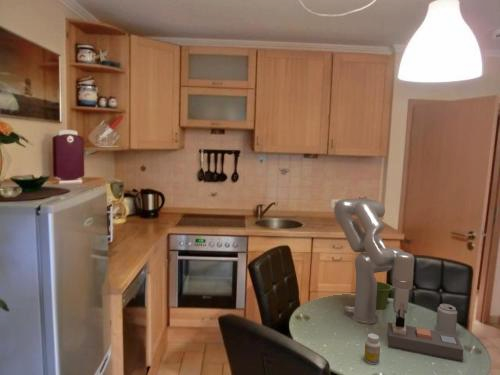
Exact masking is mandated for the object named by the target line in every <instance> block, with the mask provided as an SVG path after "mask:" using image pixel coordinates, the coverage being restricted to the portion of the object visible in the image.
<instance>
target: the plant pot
mask: <svg viewBox="0 0 500 375" xmlns="http://www.w3.org/2000/svg"><path fill="white" fill-rule="evenodd" d="M392 289H393V286H391V285H390V284H388V283H387V282H383V281H377V298H376V310H379V309H380V310H385V309H386V307H387V303H388V299H389V294H390V293H391V290H392Z"/></svg>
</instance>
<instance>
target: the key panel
mask: <svg viewBox="0 0 500 375" xmlns="http://www.w3.org/2000/svg"><path fill="white" fill-rule="evenodd" d="M393 323H394V324H396V322H388V323H387V348H389V349H395V350H399V351H404V352H408V353H414V354H419V355H424V356H429V357H432V358H433V357H435V358H438V359H444V360H449V361H453V362H458V363H463V359H464V358H463V357H464V348H463V346H462V343H461V341H460V339H459V337H458V335H457V334H456V333H455V334H451V333H445V332H440V331H437V330H433V329H428V328H426V329H427V330H430V333H431V340H429V339H424V338H419V337H416V328H418V327H416V326H411V325H406V324H404V325H405V326H406V335H403V334H397V333H392V324H393ZM421 328H422V327H421ZM422 329H424V328H422ZM440 335H442V336H448V337H453V338H455V340H456V343H457V345H456V344H451V343H446V342H442V341H441V338H440Z"/></svg>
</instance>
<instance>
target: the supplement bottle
mask: <svg viewBox="0 0 500 375" xmlns="http://www.w3.org/2000/svg"><path fill="white" fill-rule="evenodd" d="M380 355H381V342H380V337H379V335H378V334H375V333H368V334H367V339H366V340H365V342H364V360H365V362H366V363H367V364H371V365H377V364H378V365H379V363H380V359H381V357H380Z"/></svg>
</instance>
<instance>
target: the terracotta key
mask: <svg viewBox="0 0 500 375" xmlns="http://www.w3.org/2000/svg"><path fill="white" fill-rule="evenodd" d="M427 329H428V328H423V329H422V327H417V328H416V337H419V338H424V339H429V340H431V333H430V330H431V329H429V330H427Z"/></svg>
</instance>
